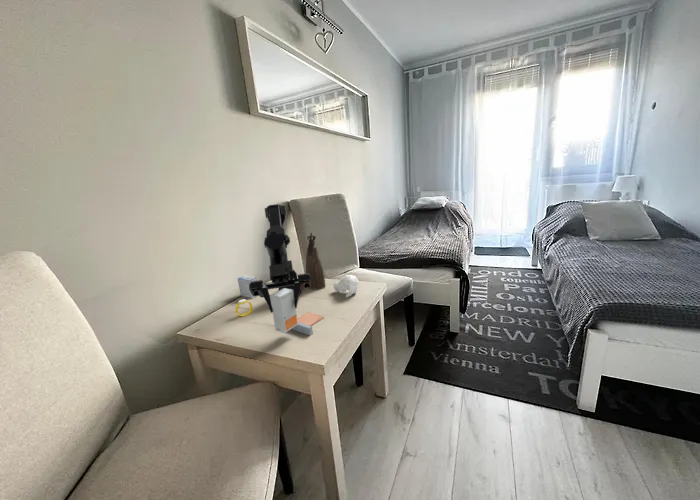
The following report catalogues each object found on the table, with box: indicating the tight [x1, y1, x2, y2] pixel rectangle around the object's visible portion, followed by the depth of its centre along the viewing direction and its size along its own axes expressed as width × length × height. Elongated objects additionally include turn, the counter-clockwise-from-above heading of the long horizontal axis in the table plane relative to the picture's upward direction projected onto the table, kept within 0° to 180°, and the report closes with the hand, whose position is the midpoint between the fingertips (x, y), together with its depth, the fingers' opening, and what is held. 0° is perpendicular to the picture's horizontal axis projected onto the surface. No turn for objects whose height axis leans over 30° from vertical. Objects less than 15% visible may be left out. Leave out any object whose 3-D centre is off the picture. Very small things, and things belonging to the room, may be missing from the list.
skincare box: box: [270, 288, 298, 334], centre depth 89 cm, size 6×4×12 cm
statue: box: [305, 232, 326, 290], centre depth 131 cm, size 9×8×25 cm
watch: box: [235, 298, 253, 317], centre depth 111 cm, size 6×3×6 cm, turn 133°
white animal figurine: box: [333, 274, 360, 298], centre depth 121 cm, size 6×8×12 cm
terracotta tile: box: [297, 311, 325, 327], centre depth 101 cm, size 8×8×1 cm
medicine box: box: [237, 274, 258, 299], centre depth 130 cm, size 8×4×9 cm, turn 58°
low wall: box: [291, 322, 314, 336], centre depth 96 cm, size 1×14×2 cm, turn 52°
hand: (283, 310), depth 88 cm, fingers closed on skincare box, 7 cm apart
